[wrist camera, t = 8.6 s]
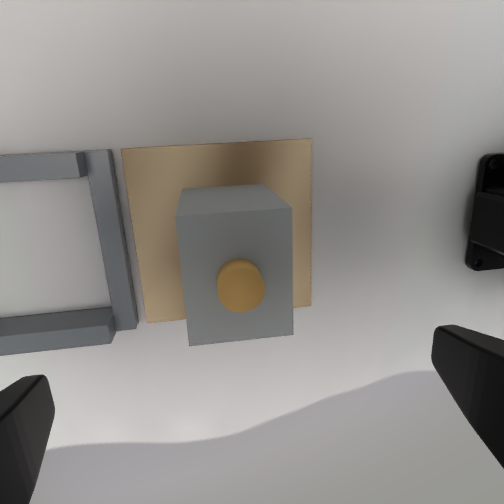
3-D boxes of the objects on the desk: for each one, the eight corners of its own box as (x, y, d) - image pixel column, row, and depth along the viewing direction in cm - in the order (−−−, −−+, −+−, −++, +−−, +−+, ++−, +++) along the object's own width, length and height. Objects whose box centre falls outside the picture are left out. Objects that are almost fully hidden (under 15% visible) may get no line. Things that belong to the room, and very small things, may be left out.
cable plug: (263, 183, 19) (299, 213, 12) (266, 277, 20) (299, 349, 14) (181, 188, 18) (173, 222, 12) (191, 284, 20) (188, 361, 13)
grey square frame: (110, 149, 18) (100, 151, 16) (138, 321, 20) (132, 341, 18) (-77, 159, 17) (-112, 163, 15) (-21, 338, 19) (-44, 360, 18)
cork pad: (309, 138, 19) (311, 138, 18) (309, 303, 21) (310, 305, 21) (121, 148, 18) (120, 148, 17) (147, 320, 20) (147, 323, 20)
